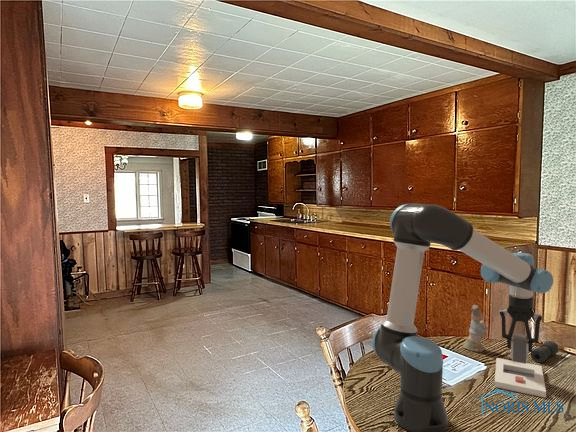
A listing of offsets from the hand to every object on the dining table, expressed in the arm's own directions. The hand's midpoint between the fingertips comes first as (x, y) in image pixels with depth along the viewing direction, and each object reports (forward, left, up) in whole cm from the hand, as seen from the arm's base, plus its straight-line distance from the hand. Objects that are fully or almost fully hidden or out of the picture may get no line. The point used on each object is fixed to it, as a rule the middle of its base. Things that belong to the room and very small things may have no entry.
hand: (519, 358), depth 142 cm
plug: (0, 0, 0) cm, 0 cm away
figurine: (+20, +16, -7) cm, 27 cm away
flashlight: (+24, -9, -7) cm, 27 cm away
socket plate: (-2, 0, -7) cm, 7 cm away
